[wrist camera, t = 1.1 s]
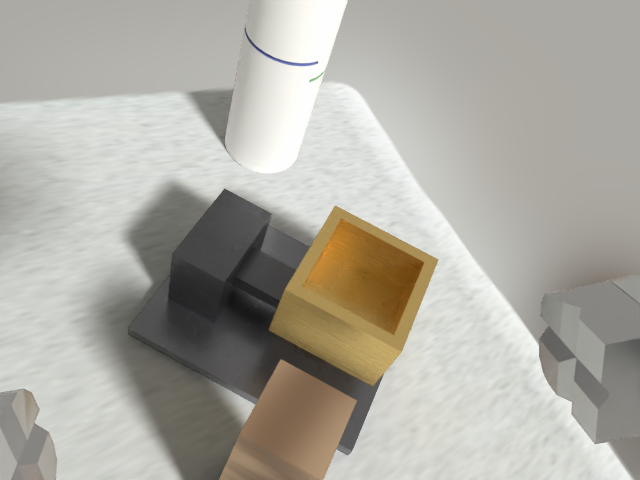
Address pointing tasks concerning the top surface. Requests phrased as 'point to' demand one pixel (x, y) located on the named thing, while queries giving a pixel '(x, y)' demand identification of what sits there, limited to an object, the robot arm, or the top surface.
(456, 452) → the top surface
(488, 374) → the top surface
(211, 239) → the cup bracket
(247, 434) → the rail post
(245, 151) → the cylindrical container
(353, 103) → the top surface
